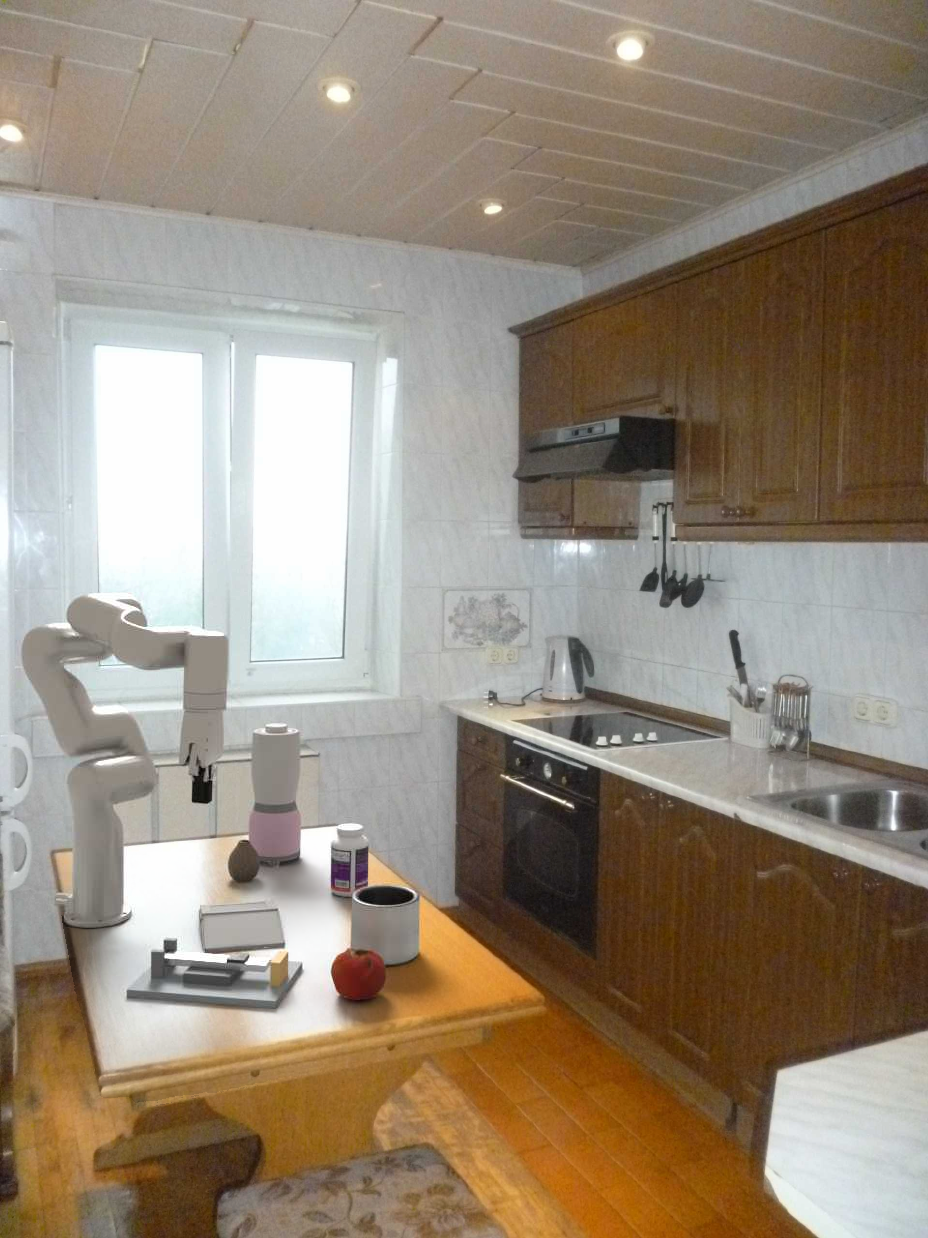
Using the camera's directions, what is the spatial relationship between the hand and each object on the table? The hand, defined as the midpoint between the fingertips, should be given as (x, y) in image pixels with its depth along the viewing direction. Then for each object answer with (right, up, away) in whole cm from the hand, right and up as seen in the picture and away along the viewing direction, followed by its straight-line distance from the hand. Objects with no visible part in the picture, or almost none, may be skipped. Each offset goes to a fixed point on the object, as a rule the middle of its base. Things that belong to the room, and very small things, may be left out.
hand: (201, 802), depth 185 cm
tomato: (+29, -30, -13) cm, 44 cm away
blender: (+3, -24, +61) cm, 66 cm away
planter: (+32, -29, +4) cm, 44 cm away
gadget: (+4, -28, +16) cm, 32 cm away
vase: (-2, -25, +44) cm, 51 cm away
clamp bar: (+5, -26, -10) cm, 28 cm away
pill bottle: (+22, -26, +38) cm, 51 cm away
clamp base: (+5, -29, -10) cm, 31 cm away
